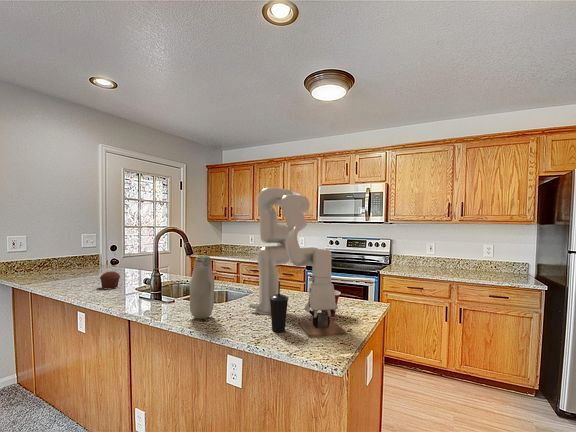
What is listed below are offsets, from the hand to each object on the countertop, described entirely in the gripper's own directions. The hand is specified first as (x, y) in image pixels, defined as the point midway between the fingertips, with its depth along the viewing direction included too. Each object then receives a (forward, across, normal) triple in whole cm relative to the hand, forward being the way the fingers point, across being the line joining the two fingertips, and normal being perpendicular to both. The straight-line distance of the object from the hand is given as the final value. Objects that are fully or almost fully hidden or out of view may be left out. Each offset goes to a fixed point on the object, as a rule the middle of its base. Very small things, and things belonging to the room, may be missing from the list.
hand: (321, 325), depth 119 cm
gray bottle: (+2, -47, +26) cm, 54 cm away
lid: (+1, 0, 0) cm, 1 cm away
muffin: (+2, -107, +101) cm, 147 cm away
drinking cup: (+2, -17, +2) cm, 17 cm away
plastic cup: (+2, +10, +17) cm, 20 cm away
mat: (+2, 0, 0) cm, 2 cm away
